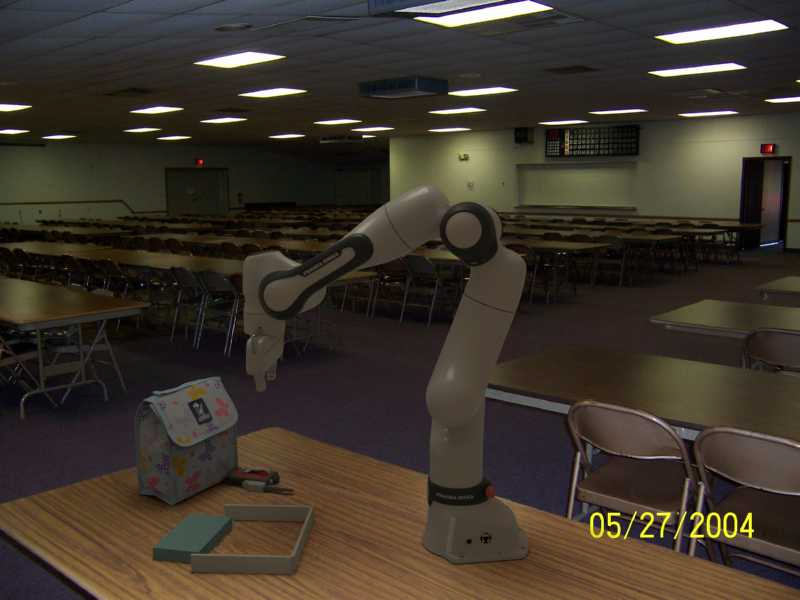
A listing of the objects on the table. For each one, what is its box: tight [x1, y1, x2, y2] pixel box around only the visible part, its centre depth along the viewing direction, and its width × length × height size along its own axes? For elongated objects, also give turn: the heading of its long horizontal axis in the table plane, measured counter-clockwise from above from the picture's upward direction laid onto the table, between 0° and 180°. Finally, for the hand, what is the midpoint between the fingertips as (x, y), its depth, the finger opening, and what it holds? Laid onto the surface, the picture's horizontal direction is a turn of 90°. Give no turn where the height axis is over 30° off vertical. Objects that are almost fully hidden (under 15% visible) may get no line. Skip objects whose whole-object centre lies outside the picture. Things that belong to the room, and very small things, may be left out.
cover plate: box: [152, 512, 233, 564], centre depth 152 cm, size 10×16×3 cm, turn 169°
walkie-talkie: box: [223, 465, 295, 494], centre depth 182 cm, size 9×4×20 cm
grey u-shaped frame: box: [190, 503, 315, 575], centre depth 151 cm, size 20×23×4 cm
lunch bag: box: [134, 376, 239, 506], centre depth 179 cm, size 22×17×26 cm
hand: (266, 385), depth 160 cm, fingers open, 8 cm apart
